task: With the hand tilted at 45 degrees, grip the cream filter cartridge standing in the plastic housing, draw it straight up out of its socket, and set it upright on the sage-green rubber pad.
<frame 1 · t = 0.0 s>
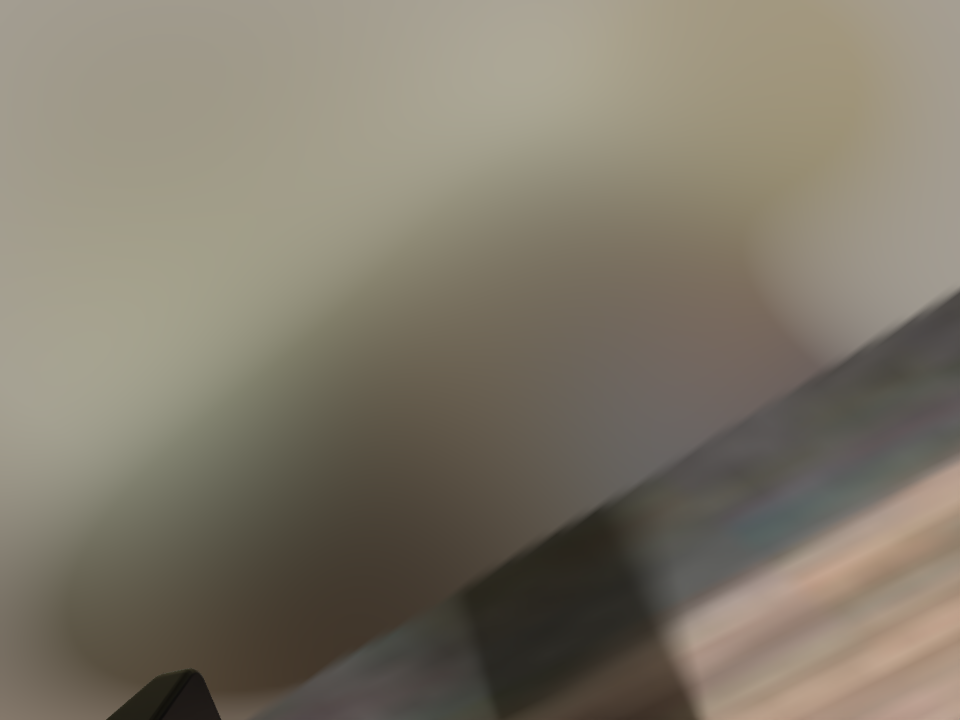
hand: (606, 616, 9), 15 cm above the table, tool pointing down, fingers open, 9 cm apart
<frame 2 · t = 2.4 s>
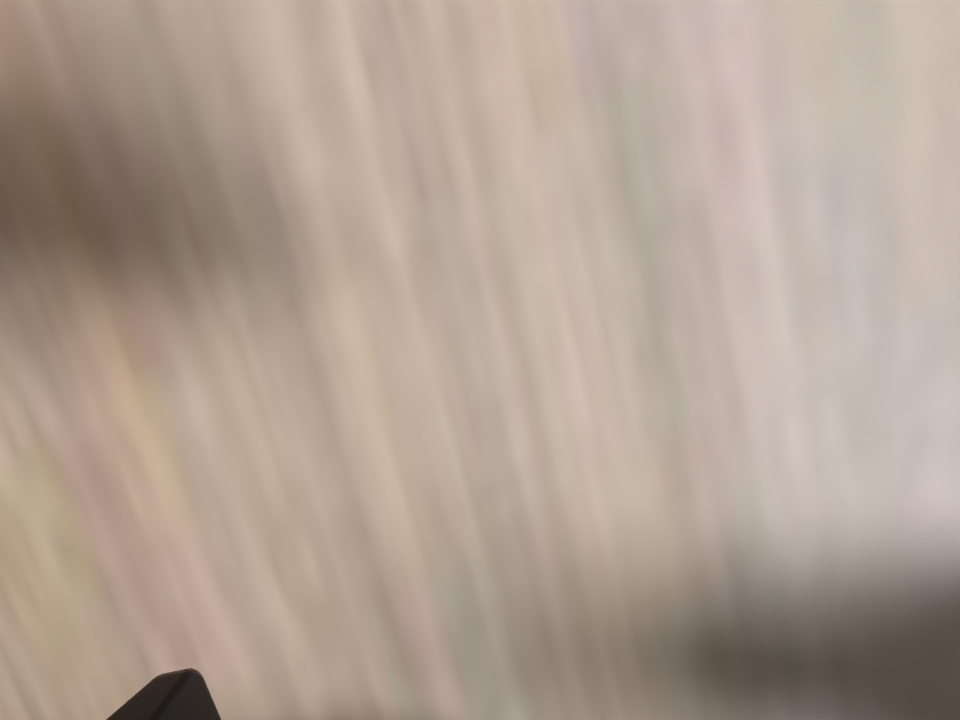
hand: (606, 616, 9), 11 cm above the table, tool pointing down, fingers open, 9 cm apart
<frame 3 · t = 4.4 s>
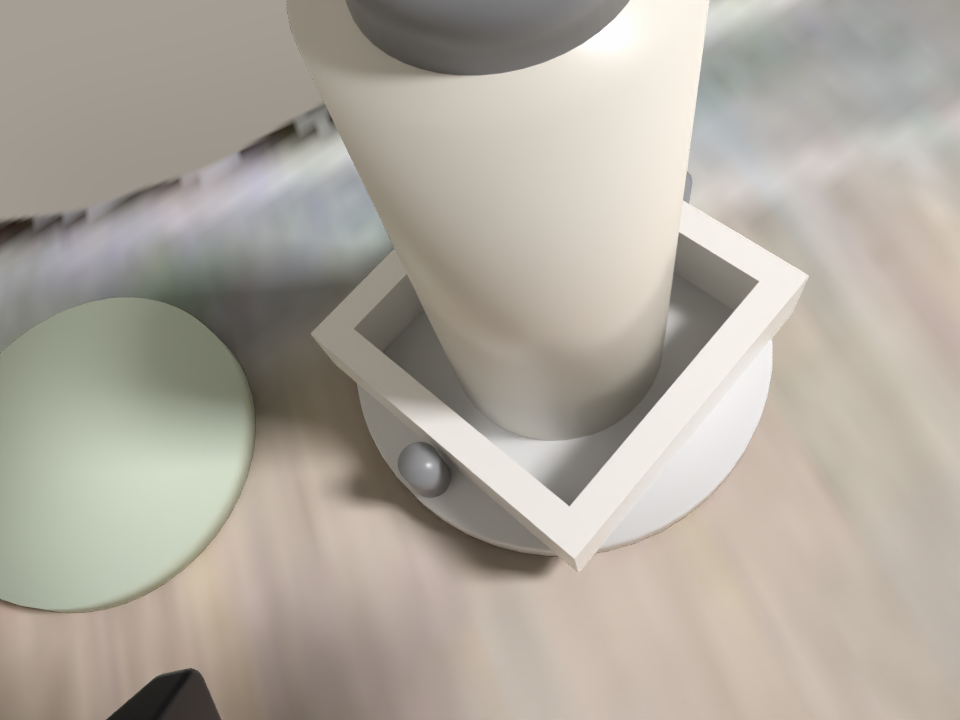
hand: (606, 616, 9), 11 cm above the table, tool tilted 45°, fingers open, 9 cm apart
filter cartridge: (555, 340, 21), point 1 cm above the table, touching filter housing
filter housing: (558, 355, 22), on the table
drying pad: (107, 451, 23), on the table
when the fingers open (8 cm above the table, at t = 12.5 s): filter cartridge drops 1 cm, resting on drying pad.
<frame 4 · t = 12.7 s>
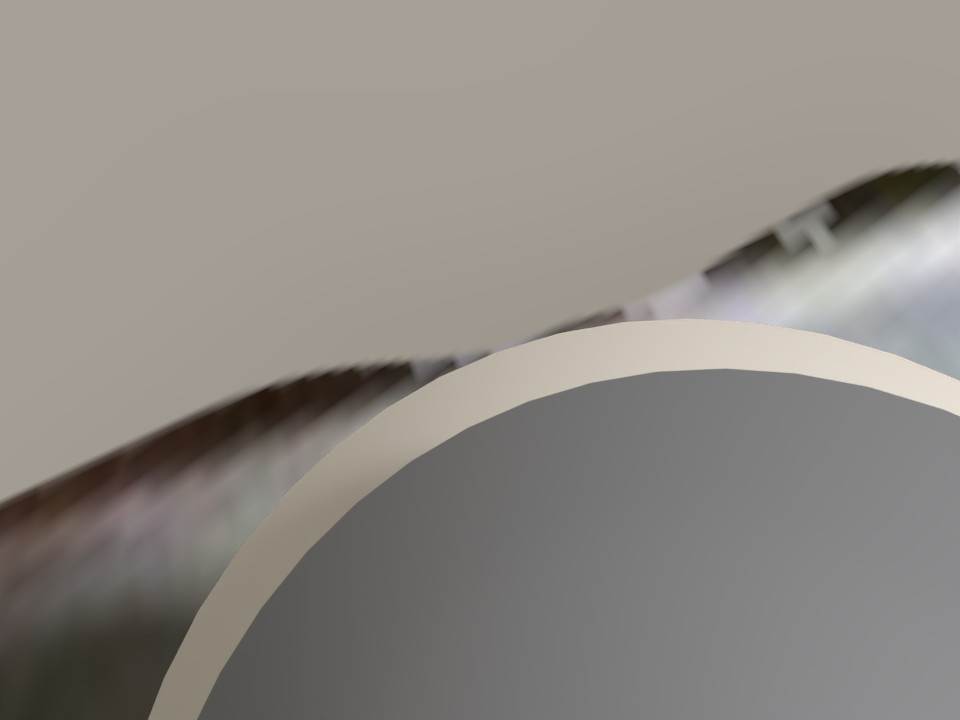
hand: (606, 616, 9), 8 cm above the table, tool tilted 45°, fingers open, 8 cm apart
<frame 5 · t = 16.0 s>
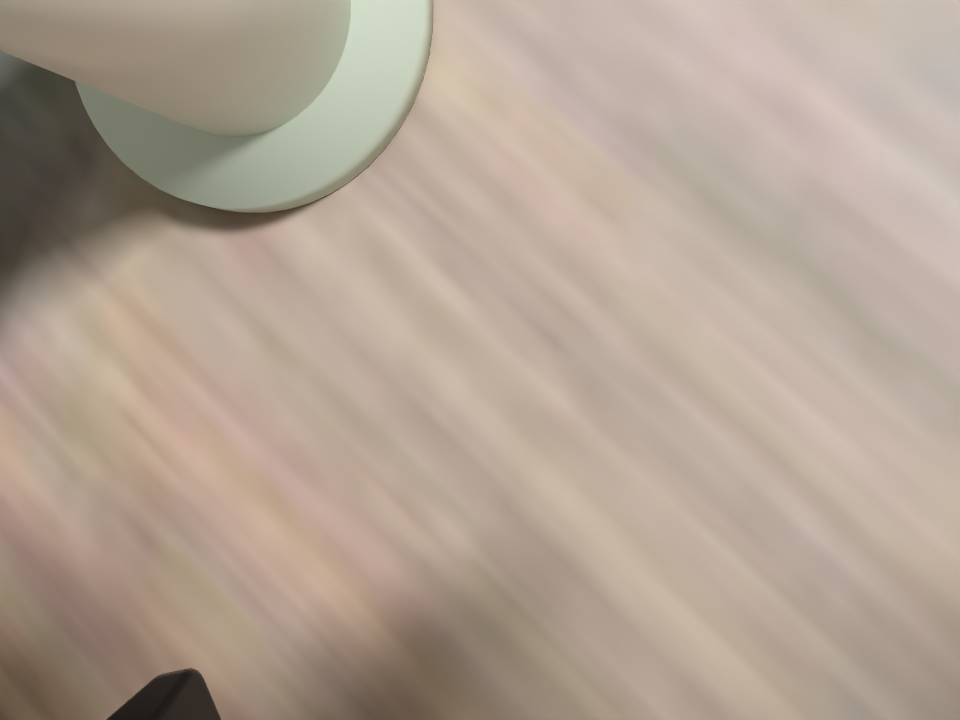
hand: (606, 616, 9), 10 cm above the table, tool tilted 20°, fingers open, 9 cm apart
filter cartridge: (236, 14, 19), point 1 cm above the table, touching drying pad
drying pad: (255, 27, 20), on the table
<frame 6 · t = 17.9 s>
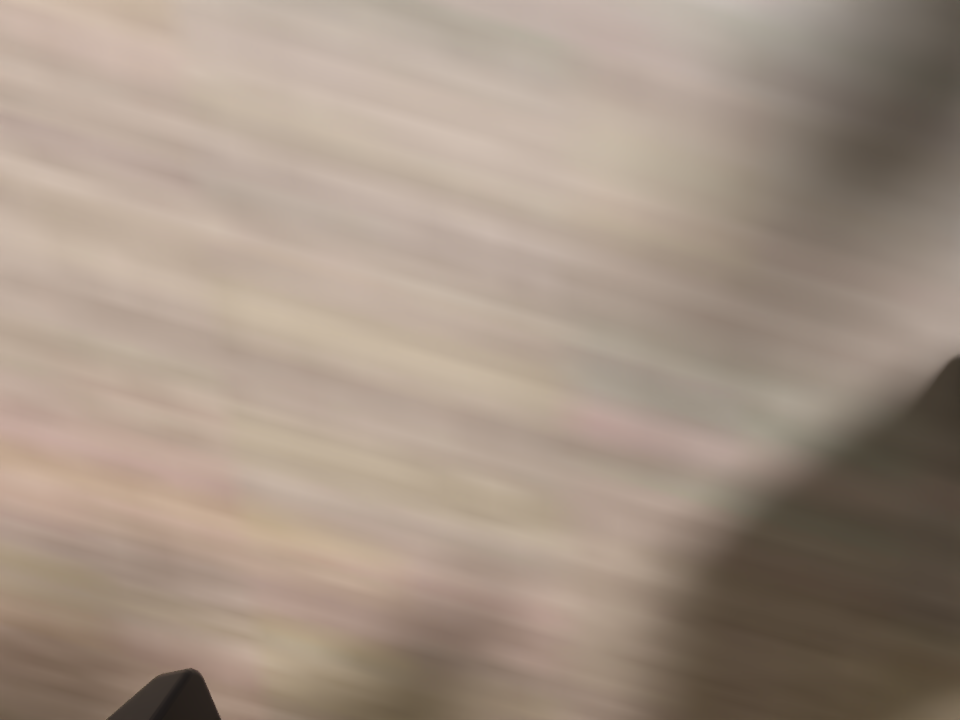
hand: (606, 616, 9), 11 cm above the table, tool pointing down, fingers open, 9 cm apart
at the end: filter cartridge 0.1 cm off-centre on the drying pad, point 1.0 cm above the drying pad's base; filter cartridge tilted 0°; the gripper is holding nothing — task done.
